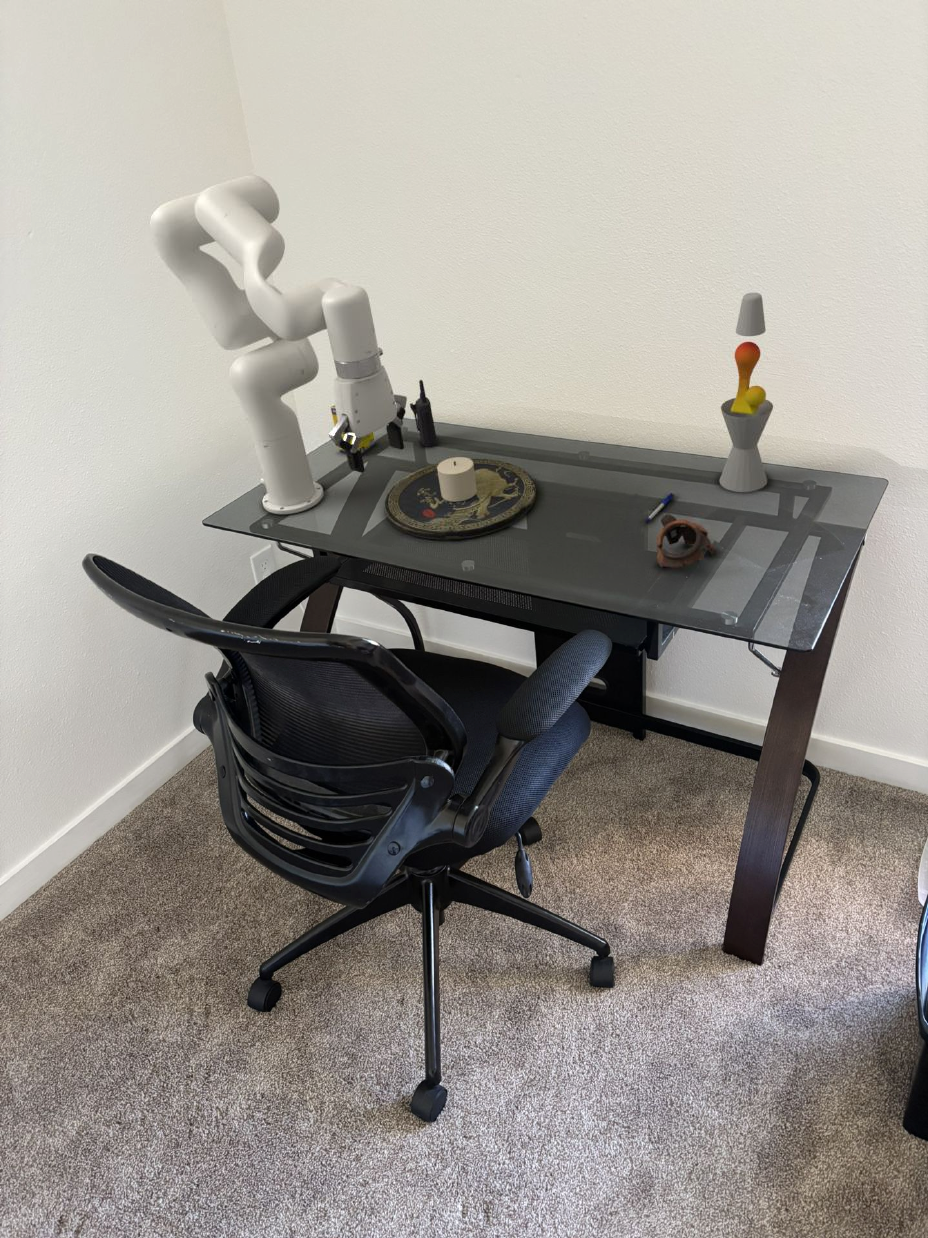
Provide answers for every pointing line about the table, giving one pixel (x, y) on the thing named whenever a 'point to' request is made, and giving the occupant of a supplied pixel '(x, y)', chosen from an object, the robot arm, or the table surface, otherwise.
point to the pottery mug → (690, 535)
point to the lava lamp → (746, 406)
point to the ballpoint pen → (660, 507)
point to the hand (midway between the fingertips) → (377, 458)
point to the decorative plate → (460, 502)
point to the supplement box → (364, 441)
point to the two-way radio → (424, 418)
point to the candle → (457, 479)
